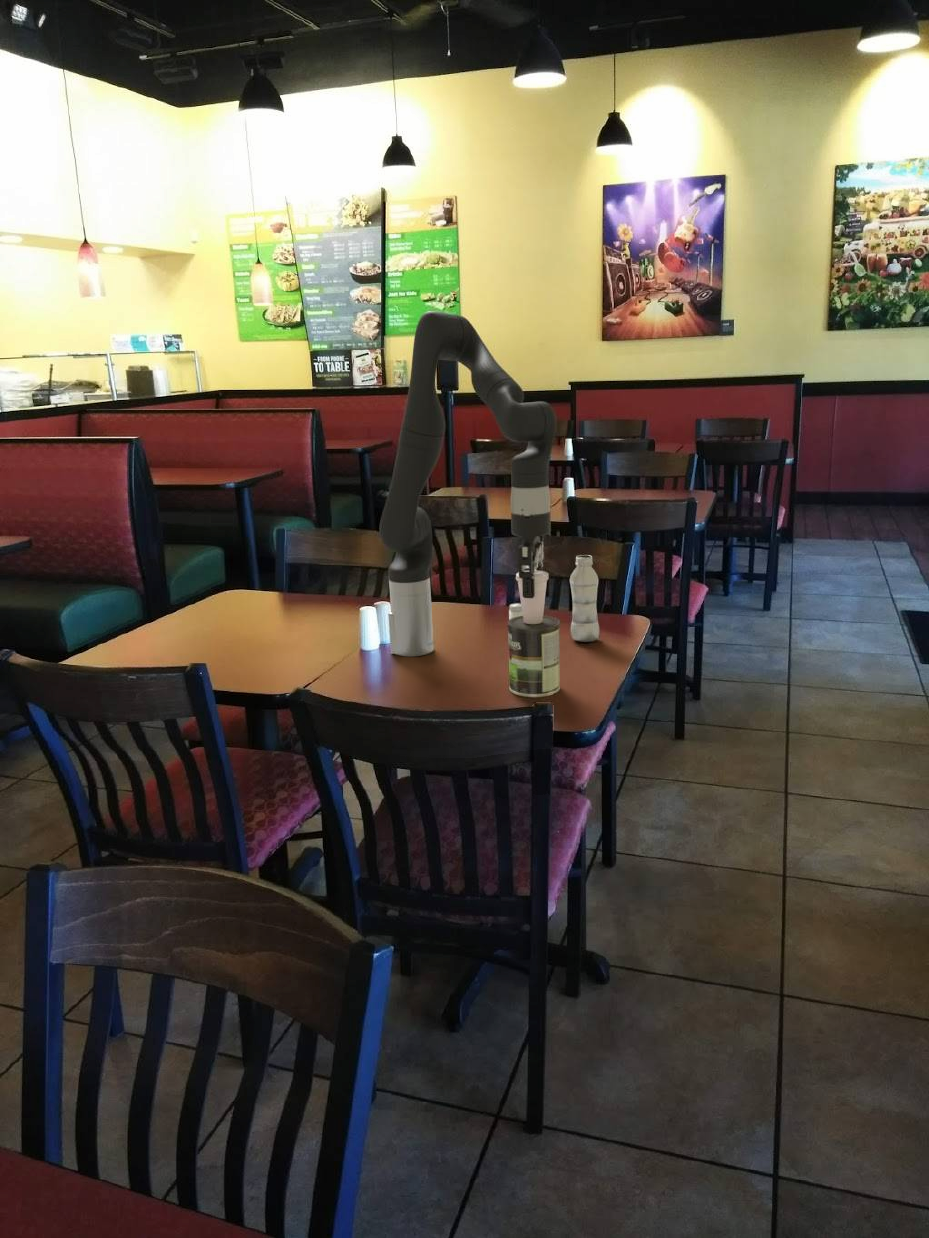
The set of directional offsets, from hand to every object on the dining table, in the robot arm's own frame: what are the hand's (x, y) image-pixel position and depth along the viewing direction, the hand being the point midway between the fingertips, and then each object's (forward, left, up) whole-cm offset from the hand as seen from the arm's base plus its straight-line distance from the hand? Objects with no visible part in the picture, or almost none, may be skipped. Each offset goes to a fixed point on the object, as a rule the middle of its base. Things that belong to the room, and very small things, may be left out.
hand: (532, 592), depth 182 cm
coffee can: (0, 0, -20) cm, 20 cm away
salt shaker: (-10, +33, -20) cm, 40 cm away
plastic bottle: (+6, +33, -20) cm, 39 cm away
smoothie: (0, 0, -6) cm, 6 cm away
